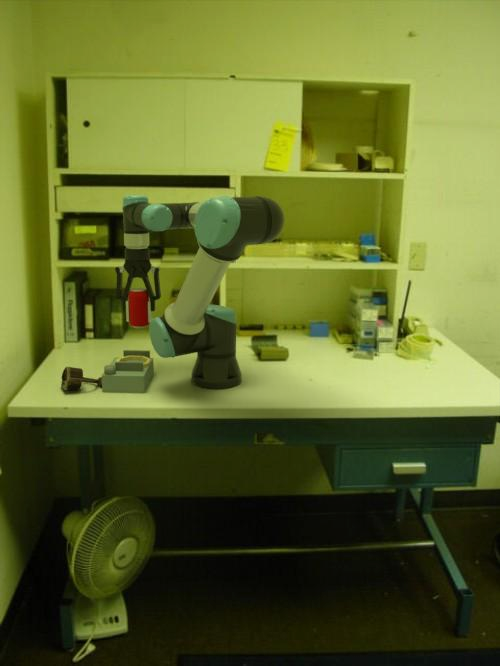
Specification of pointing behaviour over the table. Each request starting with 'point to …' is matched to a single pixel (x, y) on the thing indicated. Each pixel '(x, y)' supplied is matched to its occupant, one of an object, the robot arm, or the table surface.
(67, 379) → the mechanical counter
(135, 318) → the beverage can
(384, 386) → the table surface
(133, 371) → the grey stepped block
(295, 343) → the table surface
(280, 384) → the table surface
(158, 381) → the table surface
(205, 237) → the robot arm
